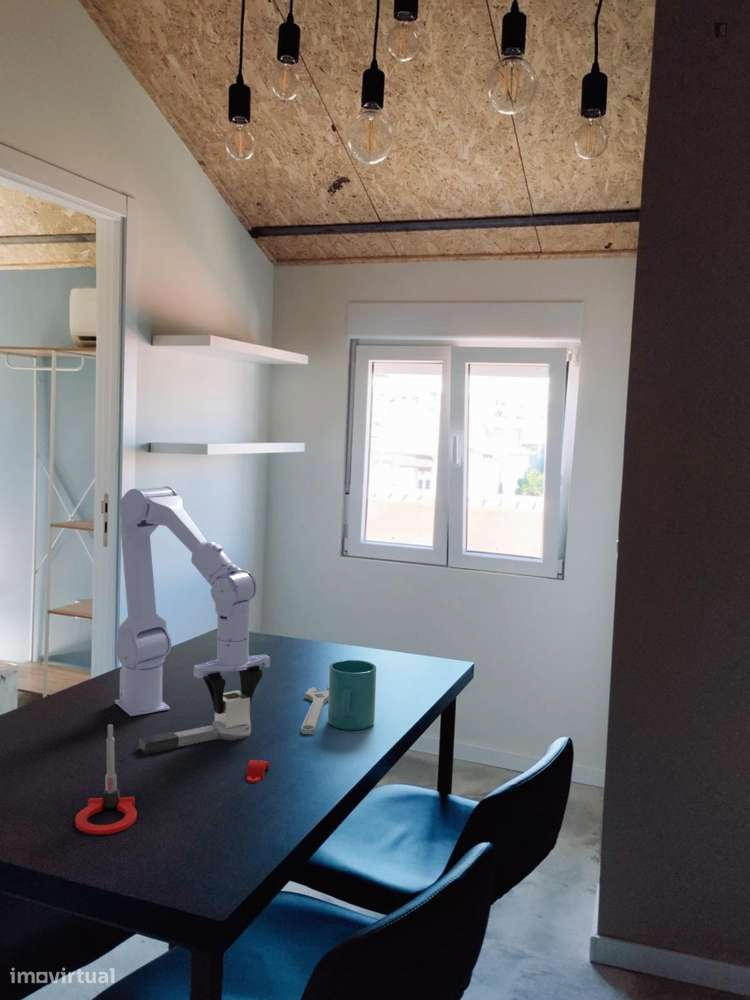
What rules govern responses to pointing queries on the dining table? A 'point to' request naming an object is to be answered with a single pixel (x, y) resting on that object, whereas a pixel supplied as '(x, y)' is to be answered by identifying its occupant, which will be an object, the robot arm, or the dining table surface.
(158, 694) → the robot arm
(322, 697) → the adjustable wrench
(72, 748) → the dining table surface
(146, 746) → the ratchet
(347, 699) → the cup
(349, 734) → the dining table surface
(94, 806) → the tow hook
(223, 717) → the socket
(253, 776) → the pipe clamp
